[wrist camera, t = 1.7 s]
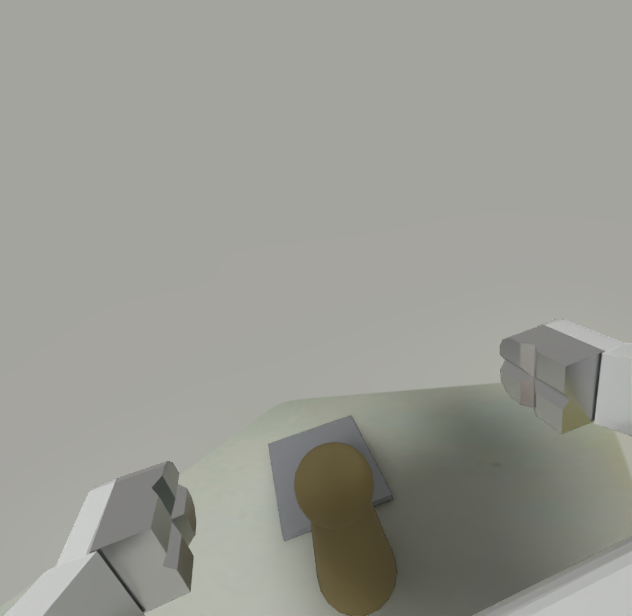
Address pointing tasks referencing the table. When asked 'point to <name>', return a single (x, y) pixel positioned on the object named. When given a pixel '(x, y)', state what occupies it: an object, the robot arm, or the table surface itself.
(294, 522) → the mat
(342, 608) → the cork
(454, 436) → the table surface
